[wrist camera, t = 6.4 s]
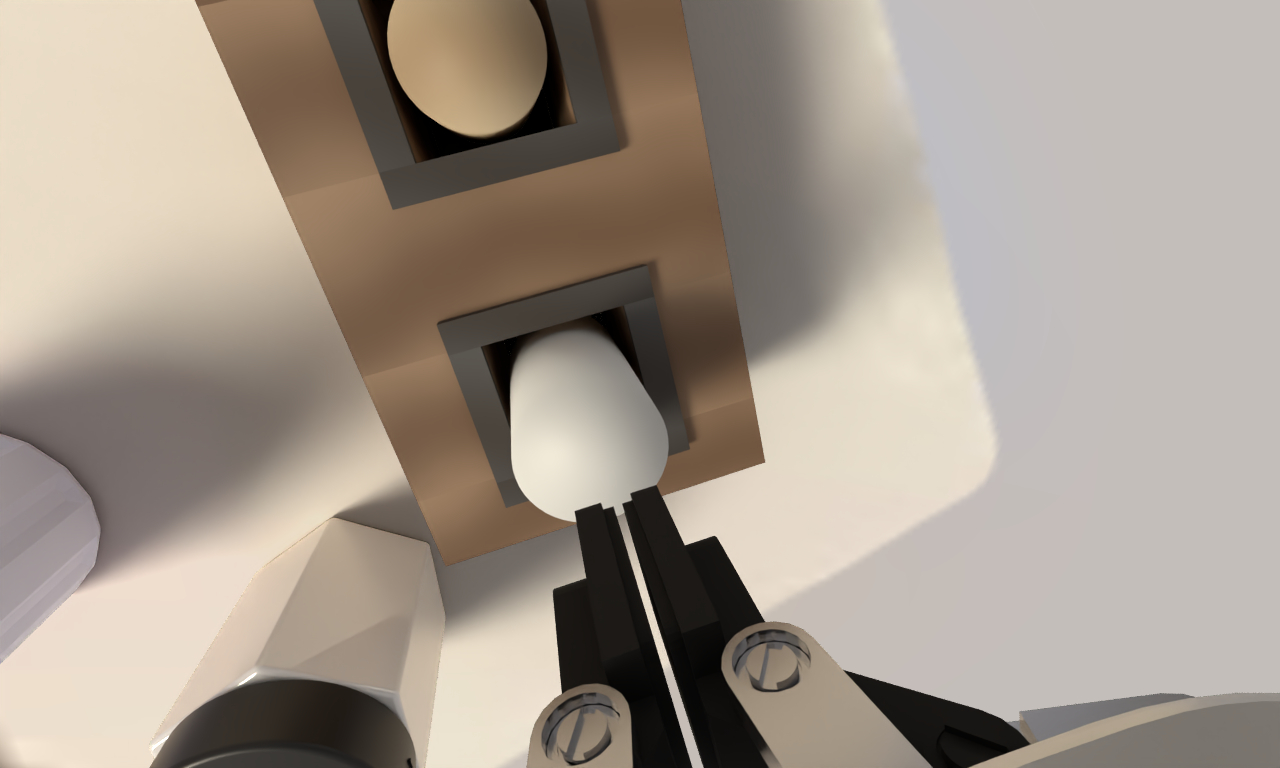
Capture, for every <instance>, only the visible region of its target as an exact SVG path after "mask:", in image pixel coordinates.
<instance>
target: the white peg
mask: <svg viewBox="0 0 1280 768" xmlns="http://www.w3.org/2000/svg"><path fill="white" fill-rule="evenodd" d="M510 403H511V460H512V468H513V472H514V475H515V478H516V481H517V483H518V485H519V487H520V489H521V490H522V492H523V493H524V495H525V496H526V497H527V498H528V499H529V500H530V501H531V502H532V503H533V504H534V505H535V506H536V507H537V508H539V509H541V510H542V511H544V512H545V513H547V514H549V515H551V516H553V517H556V518H559V519H562V520H566V521H571V522H576V517H575V511H576V510H579V509H582V508H585V507H588V506H592V505H595V504H598V503H601V504H602V507H603V509H606V508H609V507H613V506H614V509H615V513H616V516H619V515H621V514H623V513H625V512H624V509H623V505H622V503H625V502H628V501H631V500H632V499H631V495H630V493H632V492H635V491H638V490H642V489H645V488H648V487H651V486H654V485H657V483H658V481H659V479H660V478H661V476H662V474H663V471H664V469H665V466H666V462H667V458H668V449H669V445H668V434H667V429H666V426H665V423H664V420H663V418H662V416H661V414H660V413H659V411H658V409H657V408H656V406H655V405H654V403H653V401H652V400H651V398H650V397H649V395H648V394H647V392H646V390H645V389H644V387H643V386H642V384H641V382H640V381H639V379H638V378H637V376H636V375H635V373H634V371H633V370H632V368H631V367H630V365H629V363H628V362H627V360H626V359H625V357H624V355H623V354H622V352H621V351H620V349H619V348H618V346H617V344H616V343H615V341H614V340H613V338H612V336H611V335H610V334H609V332H608V331H607V330H606V328H605V327H604V326H603V325H602V324H600V323H599V322H598V321H597V320H595V319H593V318H592V317H590V316H585V317H582V318H578V319H575V320H571V321H568V322H564V323H561V324H557V325H554V326H550V327H547V328H543V329H540V330H536V331H533V332H530V333H526V334H523V335H519V336H518V337H517V339H516V341H515V343H514V345H513V348H512V351H511V356H510Z"/></svg>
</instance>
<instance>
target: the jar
mask: <svg viewBox="0 0 1280 768" xmlns="http://www.w3.org/2000/svg"><path fill="white" fill-rule="evenodd" d="M445 619H446V615H445V611H444V607H443V602H442V598H441V593H440V589H439V585H438V580H437V576H436V571H435V567H434V563H433V558H432V554H431V549H430V545H429V544H428V543H426V542H423V541H420V540H416V539H412V538H408V537H404V536H401V535H397V534H393V533H390V532H386V531H382V530H378V529H375V528H371V527H367V526H364V525H360V524H356V523H353V522H349V521H345V520H342V519H338V518H331V519H329V520H327V521H326V522H325V523H323V524H322V525H321V526H319V527H318V528H317V529H315V530H314V531H312V532H311V533H310V534H308V535H307V536H306V537H304V538H303V539H301V540H300V541H299V542H297V543H296V544H295V545H293V546H292V547H290V548H289V549H288V550H286V551H285V552H284V553H282V554H281V555H279V556H278V557H277V558H275V559H274V560H273V561H271V562H270V563H268V564H267V565H266V566H264V567H263V568H262V569H260V570H259V571H257V572H256V573H255V575H254V576H253V578H252V580H251V581H250V583H249V584H248V586H247V588H246V589H245V591H244V592H243V594H242V596H241V597H240V599H239V600H238V602H237V604H236V605H235V607H234V608H233V610H232V612H231V613H230V615H229V616H228V618H227V620H226V621H225V623H224V624H223V626H222V628H221V629H220V631H219V632H218V634H217V636H216V637H215V639H214V641H213V642H212V644H211V645H210V647H209V649H208V650H207V652H206V653H205V655H204V657H203V658H202V660H201V661H200V663H199V665H198V666H197V668H196V669H195V671H194V673H193V674H192V676H191V677H190V679H189V681H188V682H187V684H186V685H185V687H184V689H183V690H182V692H181V693H180V695H179V697H178V698H177V700H176V701H175V703H174V705H173V706H172V708H171V709H170V711H169V713H168V714H167V716H166V717H165V719H164V721H163V722H162V724H161V725H160V727H159V729H158V730H157V732H156V733H155V735H154V737H153V738H152V740H151V741H150V744H149V750H150V752H151V754H152V756H153V758H154V761H153V763H152V765H151V766H150V768H425V766H426V758H427V751H428V744H429V736H430V729H431V722H432V714H433V707H434V700H435V692H436V685H437V678H438V670H439V663H440V656H441V648H442V641H443V634H444V626H445Z"/></svg>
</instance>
